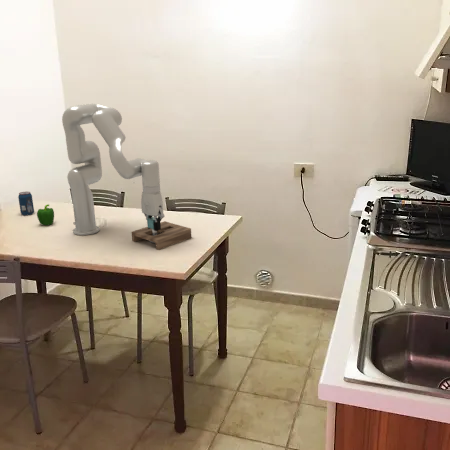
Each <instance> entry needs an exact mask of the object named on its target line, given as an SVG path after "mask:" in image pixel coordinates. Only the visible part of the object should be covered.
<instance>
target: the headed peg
mask: <svg viewBox="0 0 450 450" xmlns="http://www.w3.org/2000/svg"><path fill="white" fill-rule="evenodd" d="M146 221H147V222H146V223H147V224H148V226H147V227H148V228H151V229H152V236H155V235H158V234H157V231H155V230H154V222H155V219H154V216H152V218H148V219H147V220H146ZM147 224H146V225H147ZM149 243H151V244H153V243H154V244H156V243H155V242H152V241H149Z"/></svg>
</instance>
